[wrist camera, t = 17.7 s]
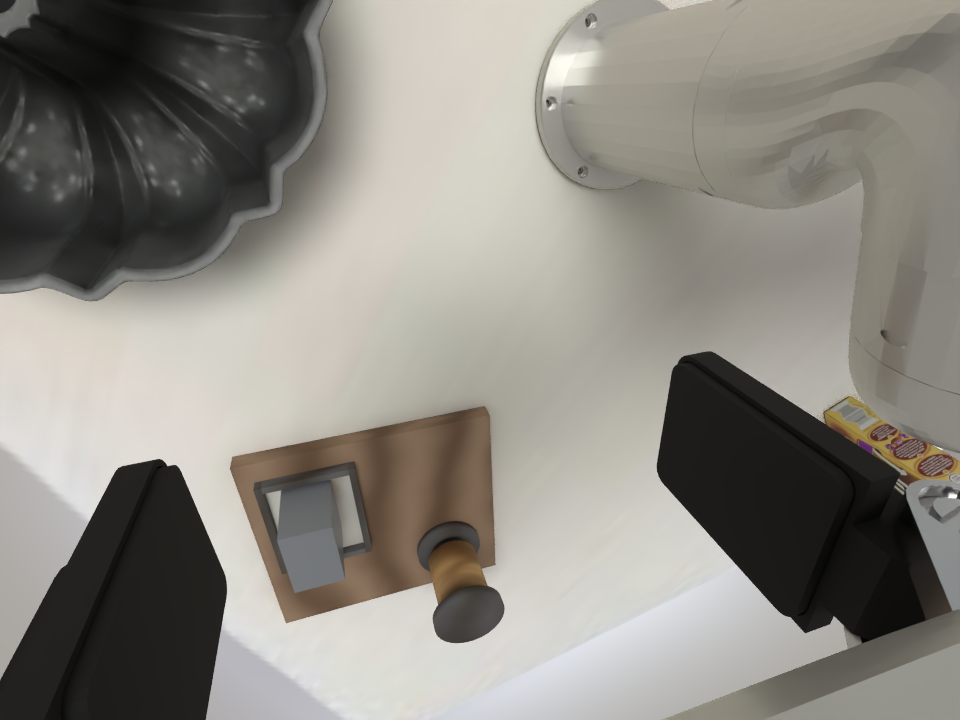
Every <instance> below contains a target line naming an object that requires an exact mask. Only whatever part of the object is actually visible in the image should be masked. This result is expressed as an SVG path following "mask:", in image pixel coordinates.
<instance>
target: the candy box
mask: <svg viewBox="0 0 960 720" xmlns="http://www.w3.org/2000/svg"><path fill="white" fill-rule="evenodd" d="M824 415H825V419H826V425H827V426H829V427H830V428H832V429H833V430H835V431H837V432H838V433H840V434H841V435H843V436H844V437H846V438H847V439H849V440H850V441H852V442H854V443H855V444H857V445H858V446H860V447H861V448H863V449H864V450H866V451H868V452H869V453H871V454H872V455H874V456H875V457H877V458H878V459H880V460H882V461H883V462H885V463H886V464H888V465H889V466H891V467H892V468H894V469H896V470H897V471H899V472H900V473H901V474H900V476H899V478H898V480H897V482H896V484H895V487H894V489H895V490H897V491H898V492H900V493H901V494H903V495H904V493H905V491H906V489H907V488H908V486H909V485H910V484H911V483H913V482H915V481H918V480H924V479H938V480H946V481H951V482H955V483H959V484H960V461H958V460H956V459H955V458H953V457H952V456H950V455H948V454H947V453H945V452H943V451H942V450H940V449H938V448H937V447H935V446H933V445H931V444H928V443H926V442H923V441H920V440H918V439H915V438H913V437H911V436H909V435H907V434H905V433H903V432H901V431H900V430H898V429H896V428H894V427H893V426H891V425H889V424H888V423H886V422H885V421H883V420H882V419H881V418H879V417H878V416H877V415H876V414H875V413H874V412H873V411H872V410H871V409H870V408H869V407H868V406H866V405H865V404H863V403H861V402H860V401H858V400H856V399H855V398H853V397H851V396H850V397H848V398H846V399H845V400H843V401H841V402H840V403H838V404H837V405H835V406H833V407H832V408H830V409H829V410H827V411H826V412H824Z"/></svg>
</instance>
